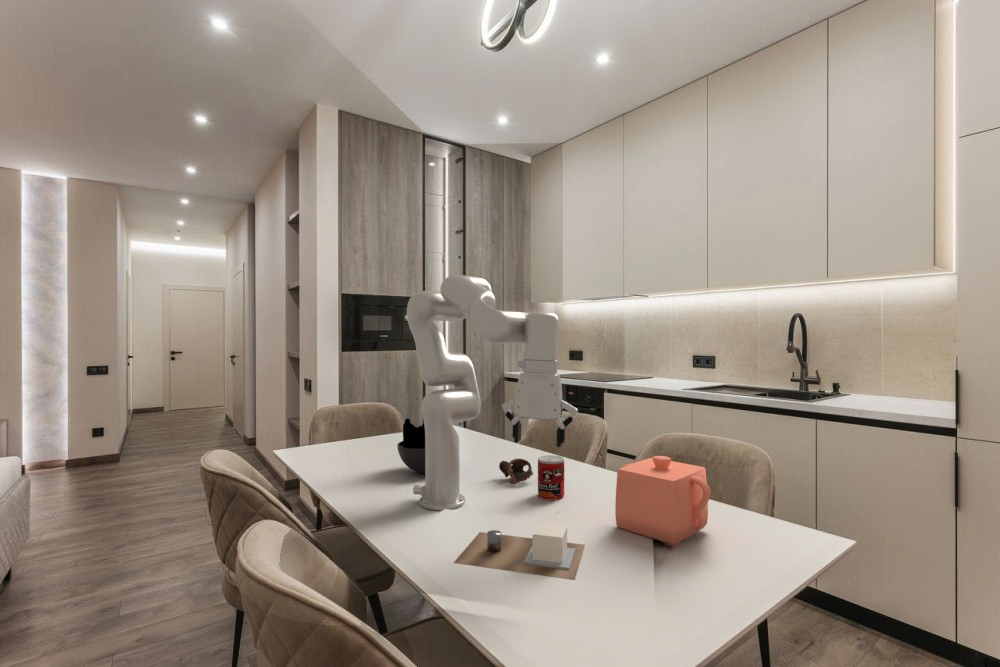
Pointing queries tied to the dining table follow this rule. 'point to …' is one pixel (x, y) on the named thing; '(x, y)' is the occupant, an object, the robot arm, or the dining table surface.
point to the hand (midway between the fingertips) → (538, 443)
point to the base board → (514, 557)
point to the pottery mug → (516, 470)
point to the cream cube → (550, 543)
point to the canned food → (551, 477)
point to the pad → (564, 565)
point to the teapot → (662, 499)
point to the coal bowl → (413, 446)
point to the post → (494, 541)
